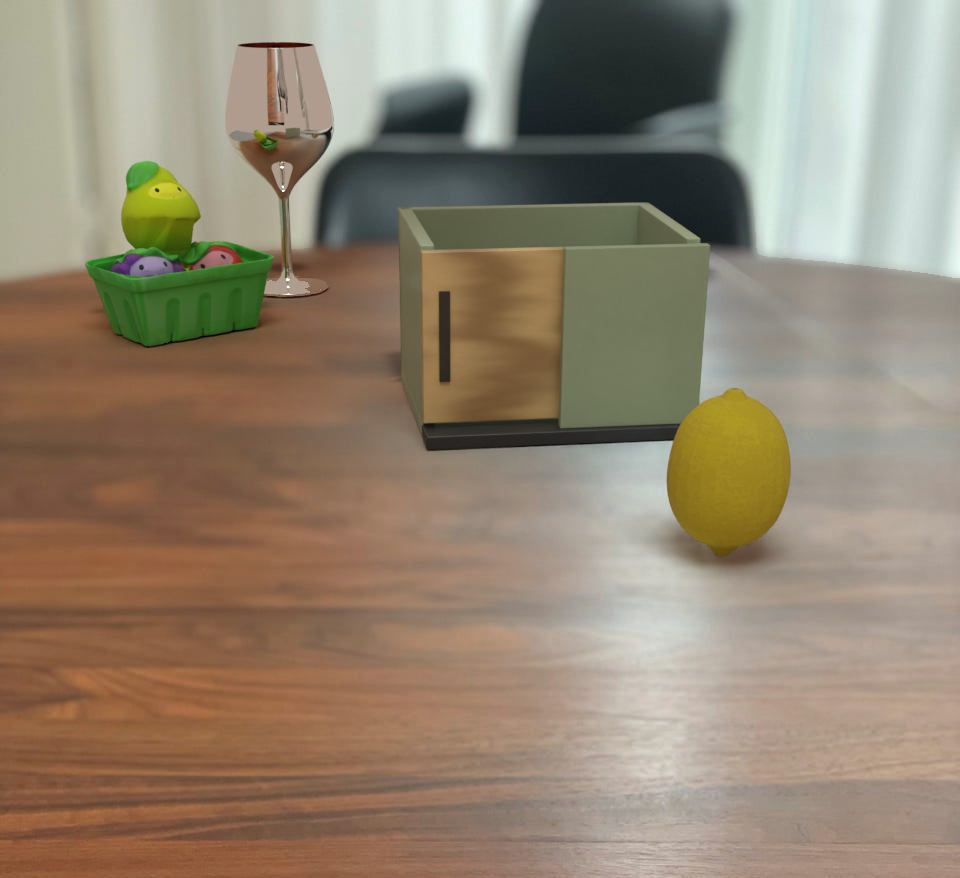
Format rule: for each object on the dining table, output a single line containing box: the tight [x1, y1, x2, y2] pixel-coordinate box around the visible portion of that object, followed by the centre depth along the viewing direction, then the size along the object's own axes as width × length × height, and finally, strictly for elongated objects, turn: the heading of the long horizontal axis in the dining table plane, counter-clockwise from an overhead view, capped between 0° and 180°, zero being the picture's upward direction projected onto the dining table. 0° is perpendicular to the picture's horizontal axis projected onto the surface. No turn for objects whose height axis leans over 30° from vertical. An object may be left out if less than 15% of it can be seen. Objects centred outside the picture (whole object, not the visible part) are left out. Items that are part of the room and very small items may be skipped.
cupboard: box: [397, 201, 711, 451], centre depth 88 cm, size 16×14×11 cm
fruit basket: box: [84, 160, 274, 347], centre depth 105 cm, size 11×9×11 cm
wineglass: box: [224, 41, 335, 296], centre depth 115 cm, size 8×8×18 cm
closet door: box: [421, 247, 564, 423], centre depth 83 cm, size 8×1×10 cm, turn 99°
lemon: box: [666, 387, 792, 557], centre depth 68 cm, size 6×6×8 cm
